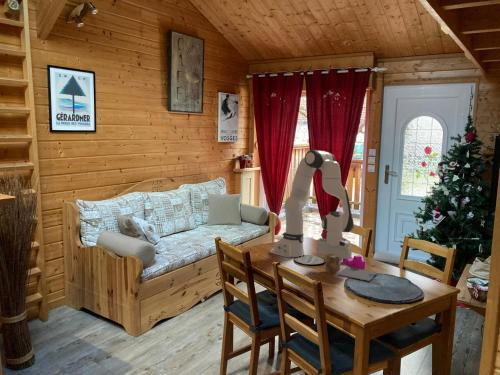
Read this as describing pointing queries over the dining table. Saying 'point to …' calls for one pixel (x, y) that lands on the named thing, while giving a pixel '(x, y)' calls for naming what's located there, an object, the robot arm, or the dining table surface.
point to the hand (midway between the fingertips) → (333, 263)
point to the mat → (356, 273)
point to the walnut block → (332, 263)
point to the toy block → (355, 262)
